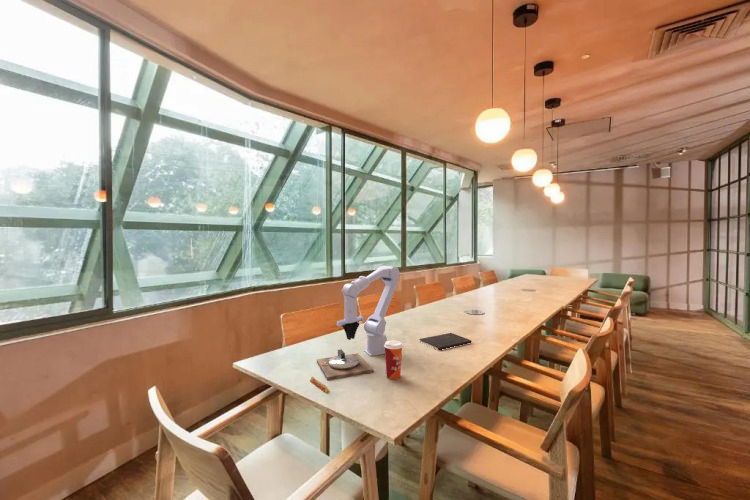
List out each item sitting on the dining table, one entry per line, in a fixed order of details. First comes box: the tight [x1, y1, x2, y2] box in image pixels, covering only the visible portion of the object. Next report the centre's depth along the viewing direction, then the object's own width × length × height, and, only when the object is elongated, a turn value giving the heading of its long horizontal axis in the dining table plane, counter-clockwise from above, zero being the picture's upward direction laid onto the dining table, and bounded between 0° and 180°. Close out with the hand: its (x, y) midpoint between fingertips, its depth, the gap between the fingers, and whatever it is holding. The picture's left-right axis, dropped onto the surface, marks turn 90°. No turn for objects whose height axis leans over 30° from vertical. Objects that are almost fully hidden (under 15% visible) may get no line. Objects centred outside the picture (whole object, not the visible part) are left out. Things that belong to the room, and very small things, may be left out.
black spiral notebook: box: [419, 332, 472, 351], centre depth 172 cm, size 16×23×2 cm
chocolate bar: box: [309, 376, 330, 394], centre depth 122 cm, size 3×12×2 cm, turn 39°
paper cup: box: [384, 339, 404, 380], centre depth 130 cm, size 8×8×14 cm
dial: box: [329, 348, 359, 370], centre depth 140 cm, size 13×14×4 cm
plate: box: [316, 353, 374, 381], centre depth 140 cm, size 20×20×1 cm
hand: (350, 338), depth 147 cm, fingers closed
